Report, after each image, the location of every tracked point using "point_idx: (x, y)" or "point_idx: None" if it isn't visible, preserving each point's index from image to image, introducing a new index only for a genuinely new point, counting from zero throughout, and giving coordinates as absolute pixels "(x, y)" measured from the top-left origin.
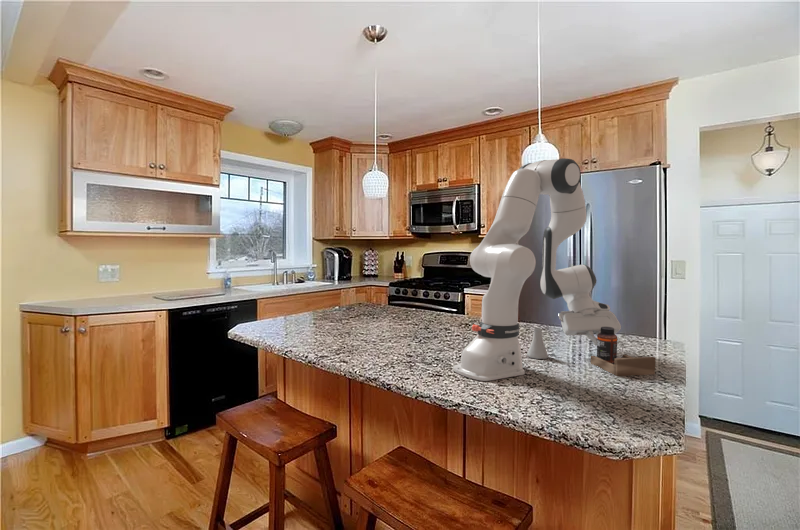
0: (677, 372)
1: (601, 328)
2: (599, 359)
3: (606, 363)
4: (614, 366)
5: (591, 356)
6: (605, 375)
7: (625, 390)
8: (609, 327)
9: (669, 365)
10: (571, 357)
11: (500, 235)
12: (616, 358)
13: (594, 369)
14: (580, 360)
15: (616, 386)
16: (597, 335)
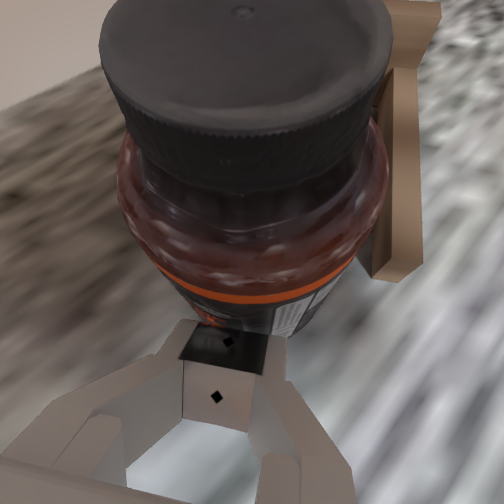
0: (91, 74)
1: (388, 58)
2: (415, 177)
3: (417, 119)
4: (417, 67)
5: (422, 256)
6: (445, 113)
7: (471, 3)
8: (176, 17)
9: (4, 139)
10: (463, 478)
11: None
12: (430, 14)
13: (447, 188)
14: (430, 368)
15: (481, 28)
16: (363, 238)
